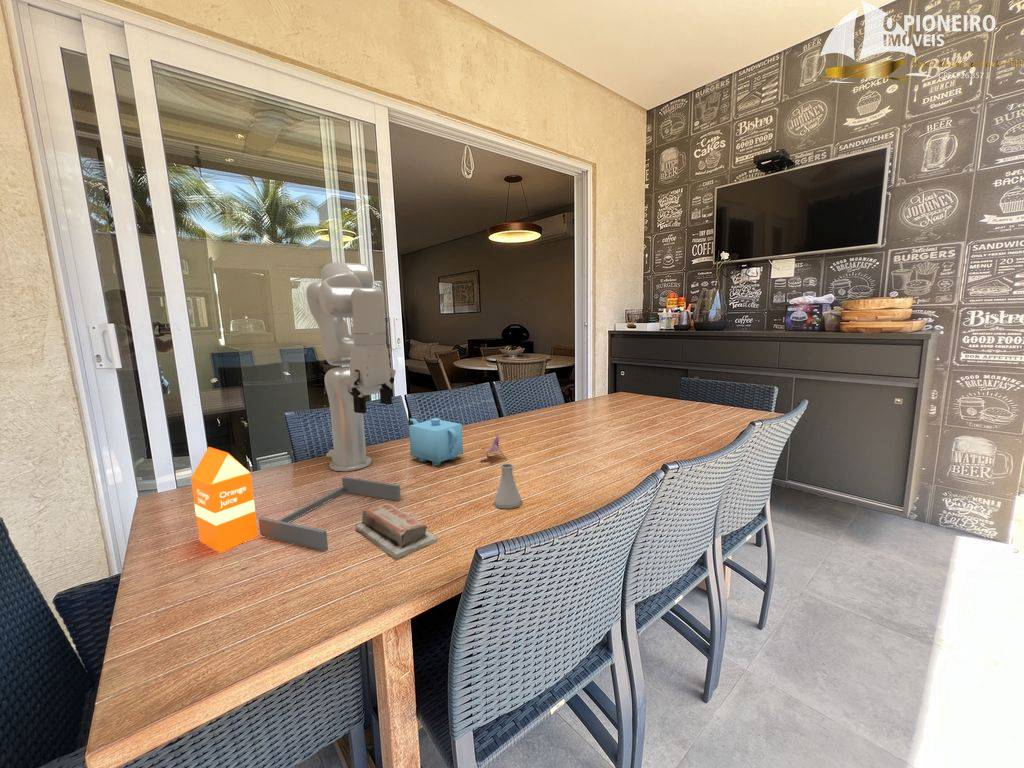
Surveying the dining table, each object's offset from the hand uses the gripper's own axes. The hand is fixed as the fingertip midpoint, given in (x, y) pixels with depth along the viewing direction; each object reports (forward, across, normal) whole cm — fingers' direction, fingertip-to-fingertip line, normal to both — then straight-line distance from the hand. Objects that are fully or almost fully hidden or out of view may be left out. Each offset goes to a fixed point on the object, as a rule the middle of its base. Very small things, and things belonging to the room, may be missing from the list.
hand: (373, 408), depth 107 cm
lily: (+25, -37, +16) cm, 48 cm away
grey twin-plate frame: (+24, +13, -2) cm, 27 cm away
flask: (+23, -8, +33) cm, 41 cm away
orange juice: (+24, +29, -16) cm, 41 cm away
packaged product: (+24, +15, +16) cm, 32 cm away
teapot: (+25, -31, -3) cm, 40 cm away
